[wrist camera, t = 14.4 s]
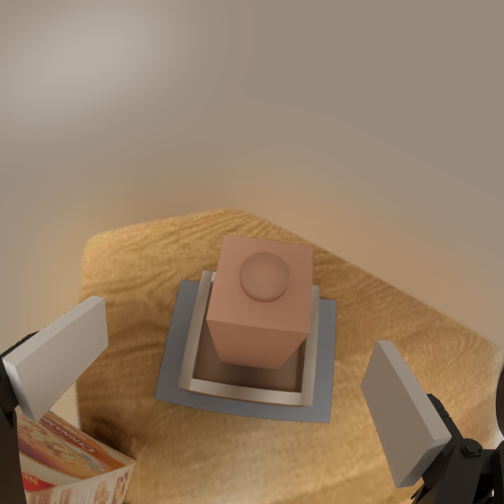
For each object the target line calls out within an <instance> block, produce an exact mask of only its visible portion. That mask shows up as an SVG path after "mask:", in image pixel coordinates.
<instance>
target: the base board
mask: <svg viewBox="0 0 504 504" xmlns="http://www.w3.org/2000/svg"><path fill="white" fill-rule="evenodd" d="M199 284H200V282H195V281H188V280H181V284H180V288H179V292H178V296H177V300H176V304H175V308H174V312H173V316H172V320H171V324H170V328H169V333H168V337H167V341H166V346H165V350H164V355H163V359H162V364H161V369H160V373H159V378H158V383H157V388H156V393H155V398H154V399H158V400H162V401H166V402H170V403H174V404H178V405H183V406H188V407H193V408H197V409H203V410H208V411H214V412H219V413H226V414H232V415H239V416H246V417H255V418H263V419H273V420H285V421H300V422H324V423H329V420H330V410H331V399H332V387H333V372H334V355H335V332H336V300H327V299H319V322H318V340H317V355H316V368H315V380H314V391H313V401H312V405H311V406H305V407H285V406H274V405H265V404H256V403H248V402H241V401H234V400H227V399H221V398H215V397H209V396H204V395H199V394H194V393H189V392H187V391H185V390H183V389H180V388H178V382H179V377H180V372H181V367H182V362H183V357H184V352H185V347H186V342H187V338H188V333H189V328H190V324H191V319H192V315H193V310H194V306H195V301H196V297H197V292H198V288H199Z"/></svg>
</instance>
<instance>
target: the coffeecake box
mask: <svg viewBox="0 0 504 504" xmlns="http://www.w3.org/2000/svg"><path fill="white" fill-rule="evenodd" d="M15 411H16V414H17V432H18V447H19V457H20V465H21V473H22V479H23V486H24V491H25V496H26V501H27V504H123V502H124V499H125V496H126V493H127V490H128V487H129V484H130V481H131V478H132V475H133V472H134V469H135V466H136V463H137V461H136V460H134V459H132V458H130V457H128V456H126V455H124V454H122V453H120V452H118V451H116V450H114V449H112V448H110V447H108V446H107V445H105V444H103V443H101V442H99V441H97V440H96V439H94V438H92V437H90V436H89V435H87V434H85V433H84V432H82V431H80V430H79V429H77V428H75V427H74V426H72V425H70V424H69V423H67V422H66V421H64V420H63V419H61V418H60V417H58V416H57V415H55V414H54V413H53V412H51V411H50V410H48V411H47V412H46V413H45V415H44V416H43V417H42V418H41V419H40V420H39V421H38V422H37V423H36V422H34V421H32V420H31V419H29V418H27V417H26V416H24V415H23V413H22V411H21V408H20V406H19V405H18V406H17V407H16V408H15Z"/></svg>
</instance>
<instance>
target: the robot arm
mask: <svg viewBox="0 0 504 504" xmlns="http://www.w3.org/2000/svg"><path fill="white" fill-rule="evenodd" d="M108 346H109V344H108V334H107V323H106V310H105V298H102V297H98V296H94V295H92V296H90V297H89V298H87V299H86V300H84V301H83V302H81V303H80V304H78V305H77V306H76V307H74V308H73V309H71V310H70V311H68V312H67V313H65V314H64V315H62V316H61V317H59V318H58V319H57V320H55V321H54V322H52V323H51V324H49V325H48V326H46V327H45V328H44V329H42V330H41V331H37V332H35V333H32V334H29V335H27V336H26V337H25V338H23V339H22V340H21V341H19V342H18V343H16V344H15V345H13V346H12V347H11V348H9V349H8V350H6V351H5V352H4V353H2V354H1V355H0V504H27V501H26V496H25V491H24V486H23V479H22V473H21V465H20V457H19V447H18V432H17V414H16V411H15V408H16V407H17V406H18V405H19V406H20V408H21V411H22V413H23V415H24V416H26V417H27V418H29V419H31V420H32V421H34V422H36V423H37V422H38V421H39V420H40V419H41V418H42V417H43V416H44V415H45V413H46V412H47V411H48V410H49V409H50V408H51V407H52V406H53V405H54V403H55V402H56V401H57V400H58V399H59V398H60V397H61V396H62V395H63V394H64V392H65V391H66V390H67V389H68V388H69V387H70V386H71V385H72V384H73V383H74V382H75V381H76V380H77V379H78V377H79V376H80V375H81V374H82V373H83V372H84V371H85V370H86V369H87V368H88V367H89V366H90V365H91V364H92V363H93V362H94V361H95V359H96V358H97V357H98V356H99V355H100V354H101V353H102V352H103V351H104V350H105V349H106V348H107V347H108ZM361 389H362V391H363V394H364V397H365V399H366V402H367V405H368V408H369V410H370V413H371V416H372V418H373V421H374V424H375V427H376V430H377V432H378V435H379V438H380V441H381V444H382V447H383V450H384V453H385V456H386V459H387V462H388V465H389V468H390V471H391V474H392V477H393V480H394V483H395V486H396V489H397V488H403V487H408V486H413V485H414V484H415V483H416V482H417V481H418V480H419V479H420V478H421V476H422V478H423V480H424V484H423V485H422V486H421V487H420V488H419V489H418V490H417V491H416V493H415V494H414V495H413V496H412V497H411V498H410V499H413V498H414V497H415V496H416V497H415V499H414V501H413V503H412V504H504V441H502V442H501V443H500V444H499V446H498V447H497V448H496V449H483V448H482V446H481V445H480V444H479V443H478V442H477V441H475V440H473V439H468V438H465V439H464V438H463V437H462V435H461V433H460V432H459V430H458V429H457V427H456V425H455V424H454V422H453V421H452V419H451V417H449V414H448V413H447V411H446V410H445V408H444V407H443V405H442V403H441V402H440V400H438V399H437V398H436V397H435V396H433V395H432V394H426V393H425V391H424V390H423V388H422V387H421V385H420V384H419V382H418V381H417V379H416V377H415V376H414V374H413V373H412V371H411V370H410V368H409V367H408V365H407V364H406V362H405V361H404V359H403V358H402V356H401V355H400V353H399V352H398V350H397V349H396V347H395V346H394V344H393V343H392V341H387V340H377V342H376V345H375V348H374V350H373V353H372V356H371V359H370V362H369V365H368V367H367V370H366V373H365V375H364V378H363V380H362V383H361ZM497 418H498V423H499V427H500V429H501V432H502V434H503V435H504V370H503V372H502V375H501V378H500V382H499V386H498V392H497ZM493 490H494V496H493V497H492V491H493Z"/></svg>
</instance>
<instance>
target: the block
mask: <svg viewBox="0 0 504 504" xmlns="http://www.w3.org/2000/svg"><path fill="white" fill-rule="evenodd" d="M313 248H314V246H308V245H301V244H294V243H287V242H279V241H272V240H265V239H257V238H250V237H243V236H235V235H227V234H224V238H223V243H222V247H221V252H220V256H219V261H218V266H217V270H216V275H215V279H214V284H213V289H212V294H211V298H210V303H209V308H208V313H207V318H206V320H207V323H208V326H209V330H210V333H211V336H212V339H213V342H214V345H215V348H216V351H217V354H218V357H219V360H220V363H227V364H233V365H240V366H247V367H254V368H262V369H271V370H279V369H280V368H281V367H282V365H283V364H284V363H285V362H286V361H287V360H288V359H289V357H290V356H291V355H292V354H293V353H294V351H295V350H296V349H297V348H298V347H299V345H300V344H301V343H302V342H303V341H304V339H305V338H306V337H307V336H308V335H309V333H310V319H311V301H312V280H313Z"/></svg>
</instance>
